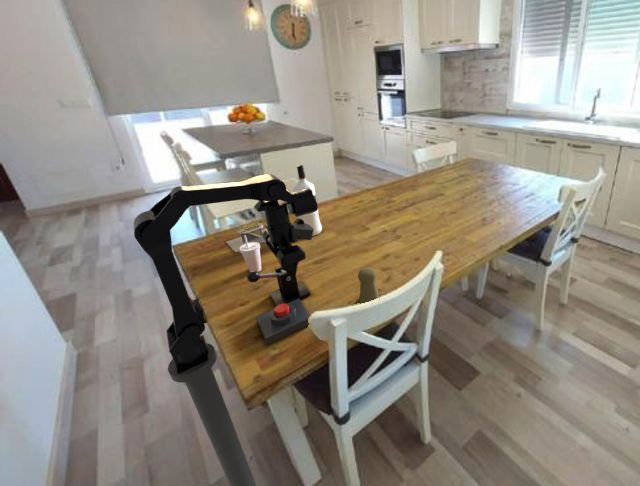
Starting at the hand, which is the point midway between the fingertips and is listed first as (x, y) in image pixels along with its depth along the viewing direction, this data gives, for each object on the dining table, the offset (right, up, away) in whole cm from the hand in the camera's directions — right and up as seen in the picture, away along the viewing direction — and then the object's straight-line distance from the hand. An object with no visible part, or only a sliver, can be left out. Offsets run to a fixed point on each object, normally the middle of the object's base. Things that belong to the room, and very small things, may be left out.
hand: (288, 270), depth 91 cm
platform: (-32, +4, +43) cm, 54 cm away
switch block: (0, -14, -2) cm, 14 cm away
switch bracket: (-3, -10, +9) cm, 13 cm away
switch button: (0, -11, -4) cm, 11 cm away
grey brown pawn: (+22, -11, +6) cm, 25 cm away
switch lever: (-7, -4, +3) cm, 8 cm away
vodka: (-9, +6, +47) cm, 49 cm away
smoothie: (-21, -5, +22) cm, 30 cm away
